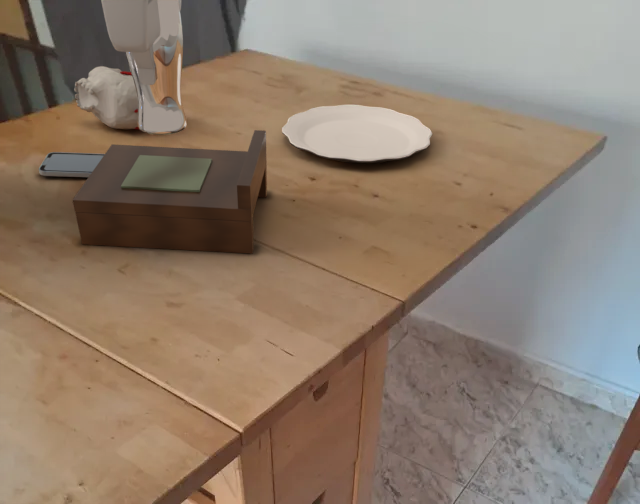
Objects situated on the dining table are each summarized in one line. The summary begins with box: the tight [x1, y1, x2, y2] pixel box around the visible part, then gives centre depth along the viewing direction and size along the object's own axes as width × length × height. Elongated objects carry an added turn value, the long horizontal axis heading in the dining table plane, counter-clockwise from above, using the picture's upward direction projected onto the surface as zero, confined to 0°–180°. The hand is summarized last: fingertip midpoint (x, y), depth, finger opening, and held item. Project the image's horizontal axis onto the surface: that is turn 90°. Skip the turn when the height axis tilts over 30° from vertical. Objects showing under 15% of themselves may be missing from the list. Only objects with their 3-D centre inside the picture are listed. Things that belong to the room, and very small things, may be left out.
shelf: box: [72, 129, 268, 254], centre depth 91 cm, size 22×18×9 cm
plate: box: [281, 104, 433, 164], centre depth 116 cm, size 25×25×2 cm
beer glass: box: [124, 0, 188, 136], centre depth 81 cm, size 7×7×15 cm
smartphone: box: [38, 151, 105, 178], centre depth 105 cm, size 7×1×15 cm
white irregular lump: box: [73, 65, 141, 131], centre depth 116 cm, size 9×11×15 cm
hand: (156, 73), depth 82 cm, fingers closed on beer glass, 6 cm apart
